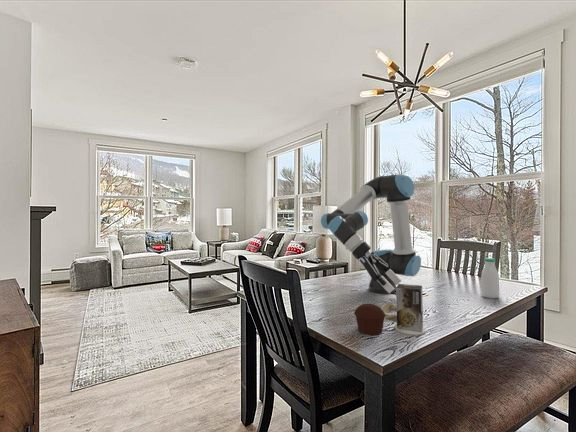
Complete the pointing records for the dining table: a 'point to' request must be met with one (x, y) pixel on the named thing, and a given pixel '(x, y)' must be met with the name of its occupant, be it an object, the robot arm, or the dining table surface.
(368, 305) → the muffin
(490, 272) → the milk bottle
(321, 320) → the dining table surface
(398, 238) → the robot arm
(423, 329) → the coaster
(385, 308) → the holder board
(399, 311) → the coffee box
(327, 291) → the dining table surface
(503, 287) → the dining table surface
